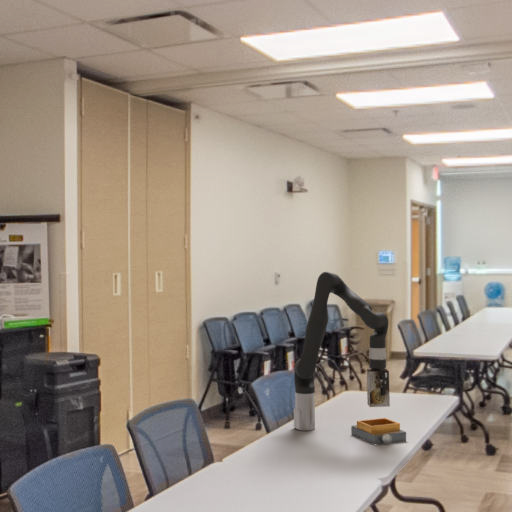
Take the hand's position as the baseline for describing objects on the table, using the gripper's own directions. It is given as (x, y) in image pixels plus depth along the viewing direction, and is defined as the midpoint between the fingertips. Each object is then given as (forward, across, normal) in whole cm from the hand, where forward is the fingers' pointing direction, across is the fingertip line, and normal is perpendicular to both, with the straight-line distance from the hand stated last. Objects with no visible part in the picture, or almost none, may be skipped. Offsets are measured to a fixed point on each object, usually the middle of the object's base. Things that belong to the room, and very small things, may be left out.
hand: (377, 393), depth 332 cm
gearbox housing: (+20, +1, 0) cm, 20 cm away
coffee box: (+5, 0, 0) cm, 5 cm away
